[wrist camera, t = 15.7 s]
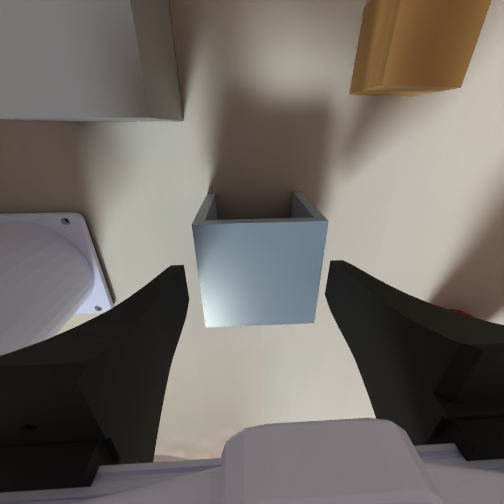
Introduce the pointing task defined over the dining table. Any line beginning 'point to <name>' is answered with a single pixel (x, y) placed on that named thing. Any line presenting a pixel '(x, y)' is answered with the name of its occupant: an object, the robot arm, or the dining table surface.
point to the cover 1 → (88, 61)
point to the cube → (416, 45)
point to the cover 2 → (259, 265)
